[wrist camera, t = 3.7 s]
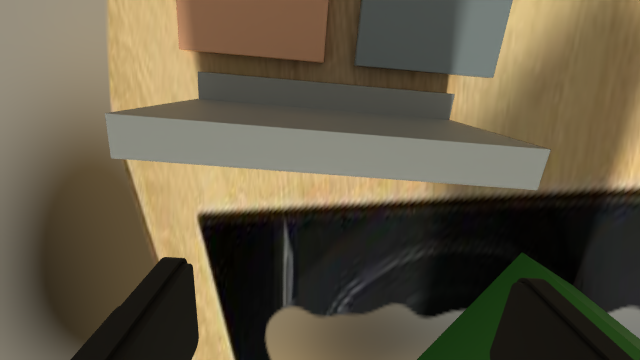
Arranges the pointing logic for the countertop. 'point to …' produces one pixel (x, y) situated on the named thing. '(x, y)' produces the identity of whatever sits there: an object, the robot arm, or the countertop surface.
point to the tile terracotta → (254, 28)
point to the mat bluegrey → (432, 35)
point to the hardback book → (485, 312)
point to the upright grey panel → (324, 133)
